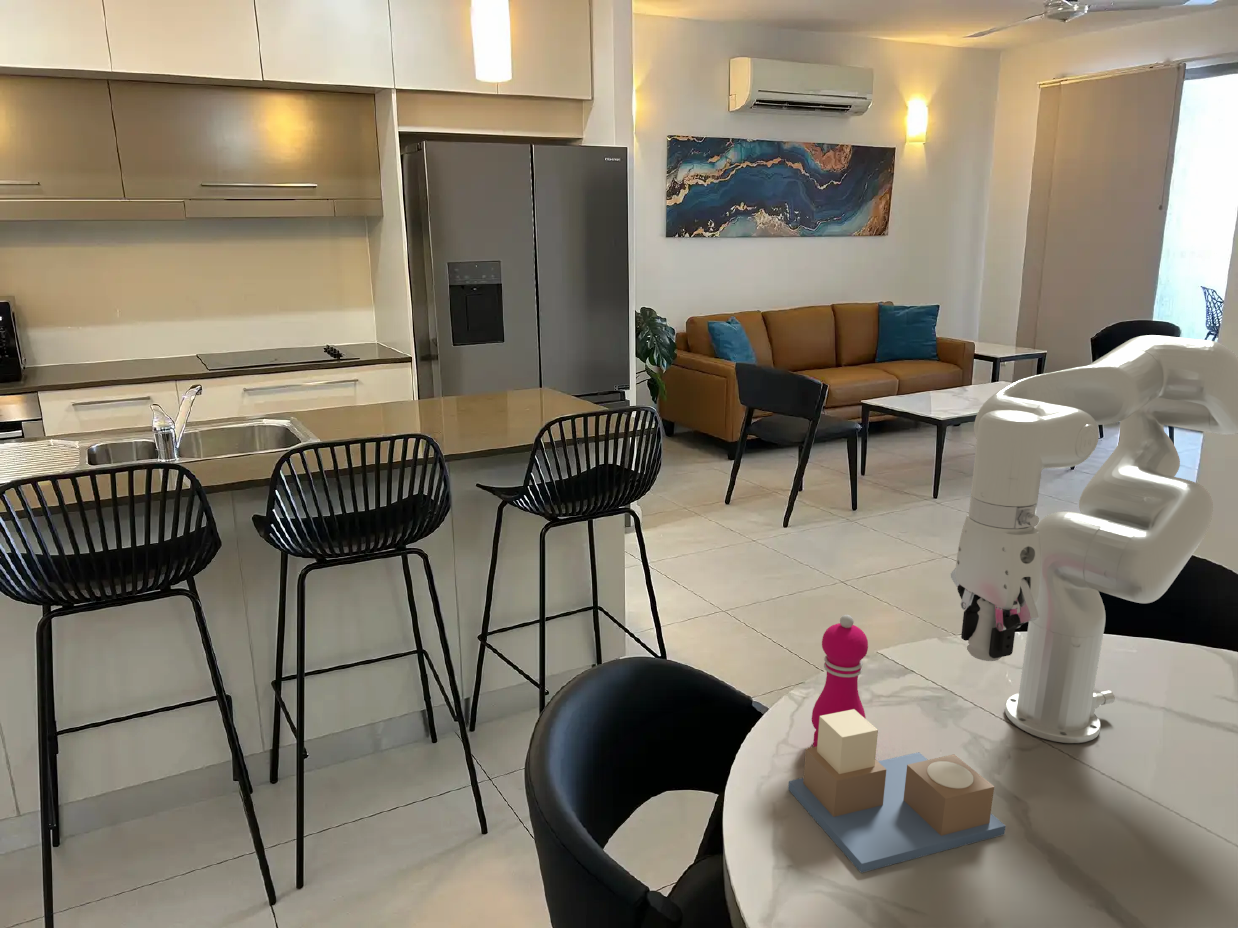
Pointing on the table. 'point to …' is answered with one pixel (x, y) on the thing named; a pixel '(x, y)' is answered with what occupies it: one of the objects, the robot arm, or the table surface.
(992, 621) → the rook chess piece
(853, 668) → the pepper mill
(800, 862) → the table surface
